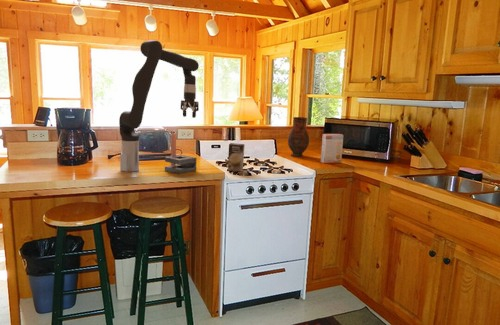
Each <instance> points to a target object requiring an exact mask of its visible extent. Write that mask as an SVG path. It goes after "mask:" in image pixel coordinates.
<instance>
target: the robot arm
mask: <svg viewBox="0 0 500 325" xmlns="http://www.w3.org/2000/svg"><path fill="white" fill-rule="evenodd" d="M140 52H141V54H142V55H143V56H144V57H146V59H145V62H144V64H143V66H141V68H140V69H139V70H138V72H136V74H135V76H134V80H133V83H132V86H131V87H132V88H131V89H132V92H131V93H132V97H133V100H132V106H131V108H130V109H131V110H129V111H128V110H126V111H123V112H122V113H121V114H120V116H119V119H118V121H119V123H118V124H119V136H120V137H121V153H120V154H119V159H120V160H119V162H120V163H119V164H120V165H119V167H120V171H122V172H126V173H128V172H129V173H131V172H138V171H139V170H140V155H139V154H140V143H139V142H140V140H139V139H140V137H139V135H138V133H136V131H135V129H138V128H139V127H140V126H141V125H142V122H143V116H144V110H145V106H146V103H147V98H148V95H149V92H150V89H151V86H152V82H153V79H154V75H155V72H156V69H157V67H158V64H159V61H162V62H165V63H168V64H171V65H173V66H176V67H178V68H182V73H183V78H184V87H183V100H180V110H181V111H182V117H184V118H185V117H187V111H188V110H187V109H189V108H190V109H191V111H192V112H191V113H192V116H191V117H192V118H196V116H197V112H198V111H199V101H196V100H197V99H196V97H197V96H196V95H197V93H196V92H197V88H196V84H197V83H196V82H197V80H196V79H197V78H196V76H195V75H193V73H192V72H196V71H198V69H199V68H200V67H199V66H200V65H199V62H198V61H197V60H196V59H194V58H190V57H186V56H183V55H181V54H179V53H176V52H173V51H171V50H170V51H169V50H165V49H163V45H162V43H161V42H160V41H159V40H154V39H153V40H144V41H143V42H142V43H141V44H140Z"/></svg>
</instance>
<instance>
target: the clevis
mask: <svg viewBox="0 0 500 325" xmlns="http://www.w3.org/2000/svg"><path fill="white" fill-rule="evenodd" d="M164 162H167V163H170V165H165V166H164V171H165V172H168V173H173V174H177V175H184V174H187V173H192V172H197V157H195V156H190V155H186V154H179V155H178V154H176V156H171V155H170V156H165V157H164ZM171 163H174V164H176V165H171Z"/></svg>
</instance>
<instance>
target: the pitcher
mask: <svg viewBox="0 0 500 325" xmlns="http://www.w3.org/2000/svg"><path fill="white" fill-rule="evenodd" d="M292 118H293V119H292V120H293V121H292V128H291V131H290V133H289V134H288V138H287V145H288V146H287V147H288V148H289V150H290V151H291V152H292V154H290V157H293V158H304V157H305V156H304V154H303V153H304V152H306V150H307V148H308V147H309V146H310V136H309V134H308V131H307V121H308V118H307V117H304V116H301V117H298V116H294V117H292Z"/></svg>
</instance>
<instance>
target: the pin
mask: <svg viewBox="0 0 500 325" xmlns="http://www.w3.org/2000/svg"><path fill="white" fill-rule="evenodd" d="M170 156H177V134H176V133H171V134H170ZM171 165H177V164H174V163H170V166H171Z"/></svg>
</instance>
